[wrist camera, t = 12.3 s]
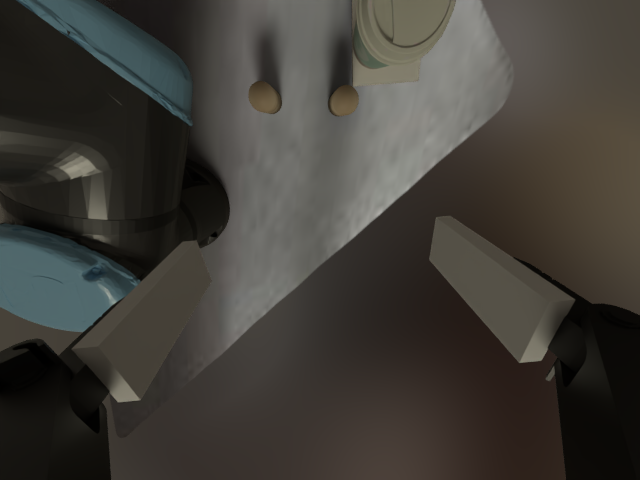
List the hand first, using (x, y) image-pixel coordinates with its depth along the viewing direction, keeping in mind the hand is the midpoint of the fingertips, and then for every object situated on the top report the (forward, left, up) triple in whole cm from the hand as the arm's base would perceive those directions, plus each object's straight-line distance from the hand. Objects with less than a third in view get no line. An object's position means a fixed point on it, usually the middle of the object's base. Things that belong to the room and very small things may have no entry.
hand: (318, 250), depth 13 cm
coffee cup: (+9, +15, -26) cm, 32 cm away
